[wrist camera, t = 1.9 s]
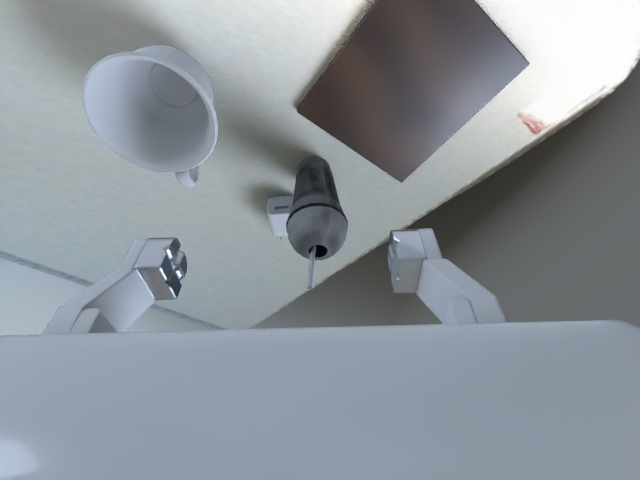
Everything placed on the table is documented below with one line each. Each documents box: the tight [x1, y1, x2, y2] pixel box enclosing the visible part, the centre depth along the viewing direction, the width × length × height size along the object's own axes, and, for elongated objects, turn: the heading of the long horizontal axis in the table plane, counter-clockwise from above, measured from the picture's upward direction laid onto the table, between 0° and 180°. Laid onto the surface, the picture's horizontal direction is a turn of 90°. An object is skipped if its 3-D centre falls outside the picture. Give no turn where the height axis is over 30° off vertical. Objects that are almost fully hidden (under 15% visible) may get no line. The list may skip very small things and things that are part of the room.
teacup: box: [82, 45, 218, 188], centre depth 39 cm, size 12×15×10 cm
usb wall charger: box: [267, 196, 293, 241], centre depth 55 cm, size 4×7×4 cm, turn 3°
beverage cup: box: [286, 157, 348, 289], centre depth 44 cm, size 7×7×20 cm
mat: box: [297, 0, 529, 182], centre depth 43 cm, size 20×18×1 cm
